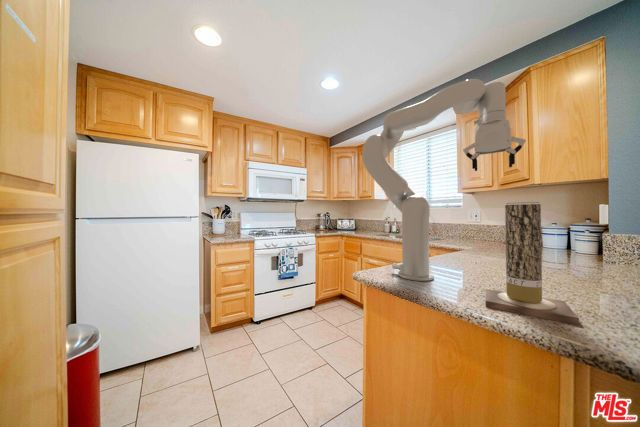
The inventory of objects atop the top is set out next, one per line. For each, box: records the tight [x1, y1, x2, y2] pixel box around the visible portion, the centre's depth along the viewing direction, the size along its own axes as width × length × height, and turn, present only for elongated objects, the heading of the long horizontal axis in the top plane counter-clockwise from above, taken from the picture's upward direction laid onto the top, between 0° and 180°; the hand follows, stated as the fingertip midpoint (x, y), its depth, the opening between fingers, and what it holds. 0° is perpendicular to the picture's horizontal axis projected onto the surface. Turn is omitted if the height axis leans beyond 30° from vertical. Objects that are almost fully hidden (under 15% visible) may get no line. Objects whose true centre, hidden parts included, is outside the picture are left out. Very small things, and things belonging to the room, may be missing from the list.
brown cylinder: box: [504, 201, 543, 303], centre depth 57 cm, size 7×7×25 cm
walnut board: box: [485, 288, 580, 326], centre depth 57 cm, size 16×12×2 cm
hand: (492, 168), depth 78 cm, fingers open, 9 cm apart
